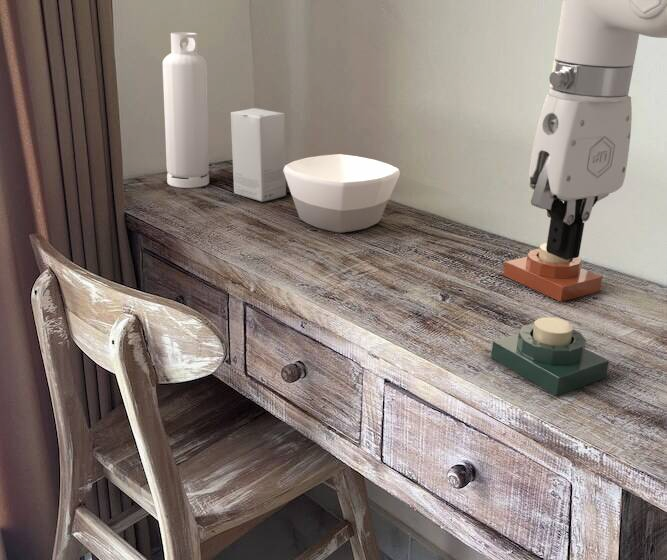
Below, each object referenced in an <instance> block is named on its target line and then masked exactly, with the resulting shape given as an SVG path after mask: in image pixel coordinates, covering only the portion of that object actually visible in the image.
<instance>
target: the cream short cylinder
mask: <svg viewBox="0 0 667 560" xmlns="http://www.w3.org/2000/svg"><path fill="white" fill-rule="evenodd" d="M546 246H547V242H546V243H542V244H540V245H539V248H538V249H539V256H538V258H539V259H541V260H543V261H546V262H551V263H569V262H570V260H571V259H569V260H565V259H562V258H560V257H558V256H555V255H553V254H551V253H548V252H547V250H546Z"/></svg>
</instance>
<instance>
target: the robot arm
mask: <svg viewBox="0 0 667 560" xmlns="http://www.w3.org/2000/svg"><path fill="white" fill-rule="evenodd" d="M640 35H641V36H645V37H650V38H658V39H667V0H562V2H561V9H560V15H559V23H558V29H557V36H556V44H555V50H554V57H553V58H554V59H553V64H552V70H551V73H550V74H549V79H548V80H549V83H550V84H549V92H548V94H546V96H545V100H544V103H543V106H542V109H541V113H540V115H539V119H538V123H537V127H536V131H535V135H534V140H533V145H532V151H531V156H530V162H529V173H528V184H529V185H528V186H529V187H530V188H531V190H533V194H532V196H531V200H530V205H532V206H534V207H536V208H539V209H542V210H546V216H547V217H548V218H549V219H550V220H549V227H548V232H547V240H546V243H547V246H546V250H547V252H548V253H551V254H553V255H555V256H558V257H560V258H562V259H565V260H569V259H571V258H577V257H578V256H579V257H580V252H581V246H582V240H583V235H584V228H585V223H586V222H588V221H589V220H590V216H591V213H592V210H593V207H594V206H595V205H596V204H597V202H599V201H602V199H605V198H607V197H608V196H609V195H610V194H613V193H615V192H617V191H619V190H620V189H621V188H622V187H623V185H624V182H625V178H626V172H627V167H628V162H629V161H628V160H629V152H630V145H631V144H630V143H631V134H632V122H633V121H632V120H633V118H632V114H633V113H632V112H633V111H632V110H633V107H632V96H630V95H629V94H630V93H629V92H630V87H631V83H632V77H633V71H634V70H633V69H634V66H635V61H636V54H637V49H638V43H639V38H640Z"/></svg>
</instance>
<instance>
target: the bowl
mask: <svg viewBox="0 0 667 560" xmlns="http://www.w3.org/2000/svg"><path fill="white" fill-rule="evenodd" d="M283 171H284V174H285V177H286V184H287V186H288V189H289V192H290V195H291V197H292V199H293V203H294V206H295V208H296V212H297V215H298V218H299V219H300V220H301V221H302V222H304V223H306V224H308V225H310V226H312V227H314V228H317V229H321V230H324V231H329V232H334V233H338V234H339V233H340V234H341V233H349V232H350V233H351V232H357V231H360V230H361V231H362V230H364V229H367V228H370V227H372V226H374V225H376V224H378V223H379V222H380V221H381V219H382V217H383V214H384V212H385V209H386V208H387V205H388V202H389V201H390V199H391V196H392V193H393V192H394V189H395V187H396V184H397V181H398V179H399V178H400V174H401V171H400V169H399V168H398V167H396V166H394V165H391V164H389V163H386V162H383V161H380V160H376V159H372V158H368V157H362V156H357V155H350V154H349V155H348V154H342V153H338V154H322V155H317V156H309V157H305V158H300V159H297V160H294V161H291V162H289V163H287V164H285V167H284V170H283Z"/></svg>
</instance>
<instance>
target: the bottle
mask: <svg viewBox="0 0 667 560" xmlns="http://www.w3.org/2000/svg"><path fill="white" fill-rule="evenodd" d="M183 39H187V43H186V42H182V43H181V41H182V40H183ZM181 46H182V47H181ZM170 52H171V53H169V54H167V55H166V56H165V57H164V58H163V60H162V62H161V63H162V81H163V82H162V86H163V110H164V114H163V115H164V133H165V134H164V136H165V156H166V157H165V159H166V160H165V161H166V162H165V164H166V172H167V173H166V183H167V184H168V185H169V186H170V187H175V188H182V189H187V188H188V189H192V188H201V187H205V186H207V185H209V183H210V173H209V171H210V156H209V155H210V153H209V152H210V151H209V150H210V149H209V146H210V145H209V113H208V112H209V105H208V101H209V99H208V63H207V60H206V59H205V57H204V56H203V55H201V54H199V53H198V33H196V32H189V31H188V32H186V31H180V32H179V31H178V32H177V31H175V32H170Z"/></svg>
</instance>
